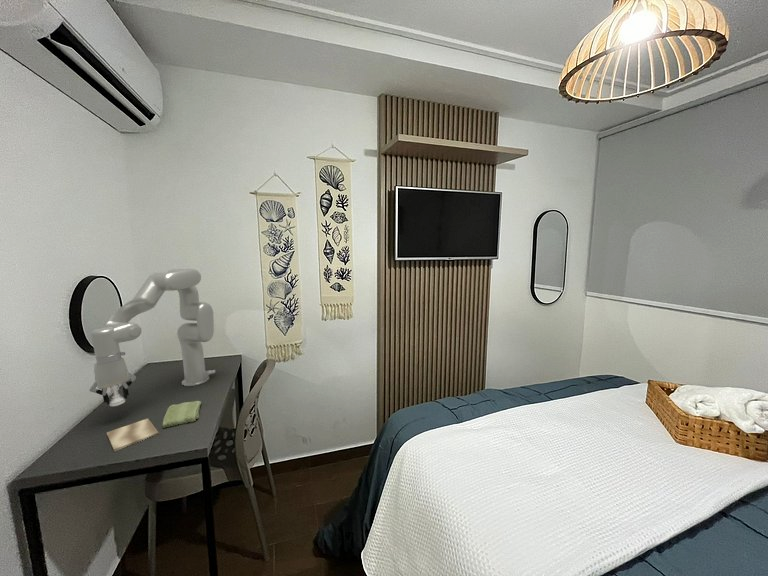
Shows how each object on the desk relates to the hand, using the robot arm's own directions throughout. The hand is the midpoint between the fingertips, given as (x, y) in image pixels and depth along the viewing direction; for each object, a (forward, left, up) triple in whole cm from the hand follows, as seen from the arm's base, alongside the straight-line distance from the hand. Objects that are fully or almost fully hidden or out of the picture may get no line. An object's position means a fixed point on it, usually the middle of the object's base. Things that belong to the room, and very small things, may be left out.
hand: (116, 399), depth 130 cm
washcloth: (-18, +17, -10) cm, 26 cm away
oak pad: (-1, +17, -9) cm, 20 cm away
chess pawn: (0, 0, -2) cm, 2 cm away
